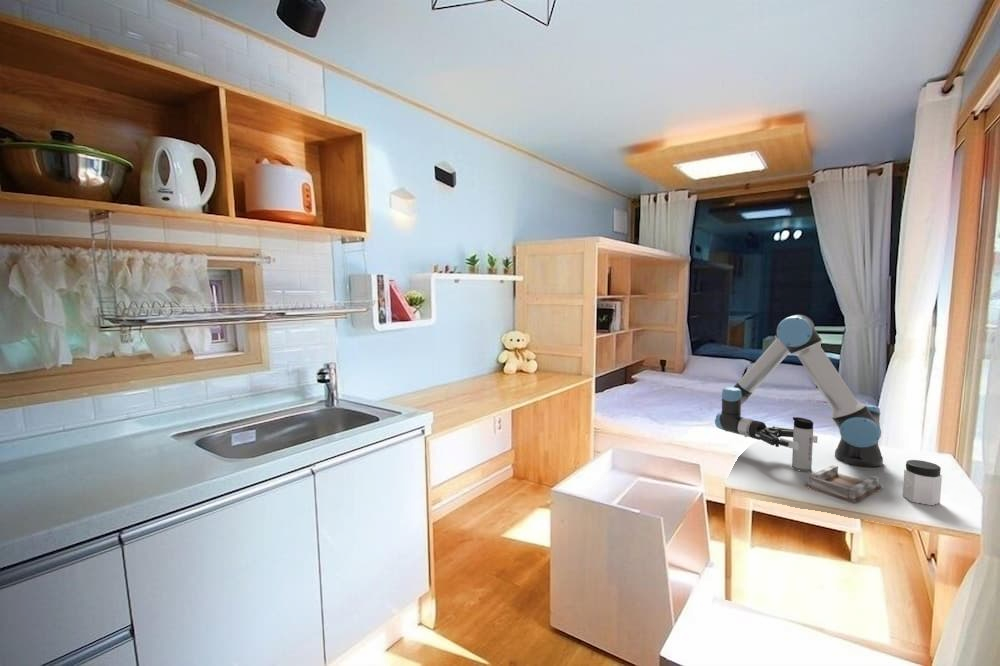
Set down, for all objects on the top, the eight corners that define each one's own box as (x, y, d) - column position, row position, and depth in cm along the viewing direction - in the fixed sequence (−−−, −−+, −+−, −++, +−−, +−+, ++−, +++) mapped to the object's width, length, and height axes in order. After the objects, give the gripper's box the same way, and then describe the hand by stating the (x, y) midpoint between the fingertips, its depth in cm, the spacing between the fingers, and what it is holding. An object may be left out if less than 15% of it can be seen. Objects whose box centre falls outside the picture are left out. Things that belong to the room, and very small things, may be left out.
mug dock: (832, 474, 167) (832, 463, 167) (881, 488, 154) (882, 477, 154) (804, 486, 157) (805, 475, 157) (855, 503, 144) (855, 491, 144)
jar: (896, 493, 151) (898, 458, 150) (923, 494, 150) (926, 459, 149) (917, 505, 142) (920, 469, 141) (946, 506, 141) (949, 470, 140)
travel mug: (789, 464, 177) (791, 415, 175) (809, 466, 174) (811, 417, 173) (792, 470, 171) (794, 419, 169) (813, 473, 169) (815, 421, 167)
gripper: (768, 432, 195) (823, 446, 177) (734, 443, 182) (790, 459, 164) (769, 415, 194) (824, 427, 176) (735, 425, 182) (790, 439, 163)
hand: (808, 442), depth 170 cm, fingers open, 13 cm apart
